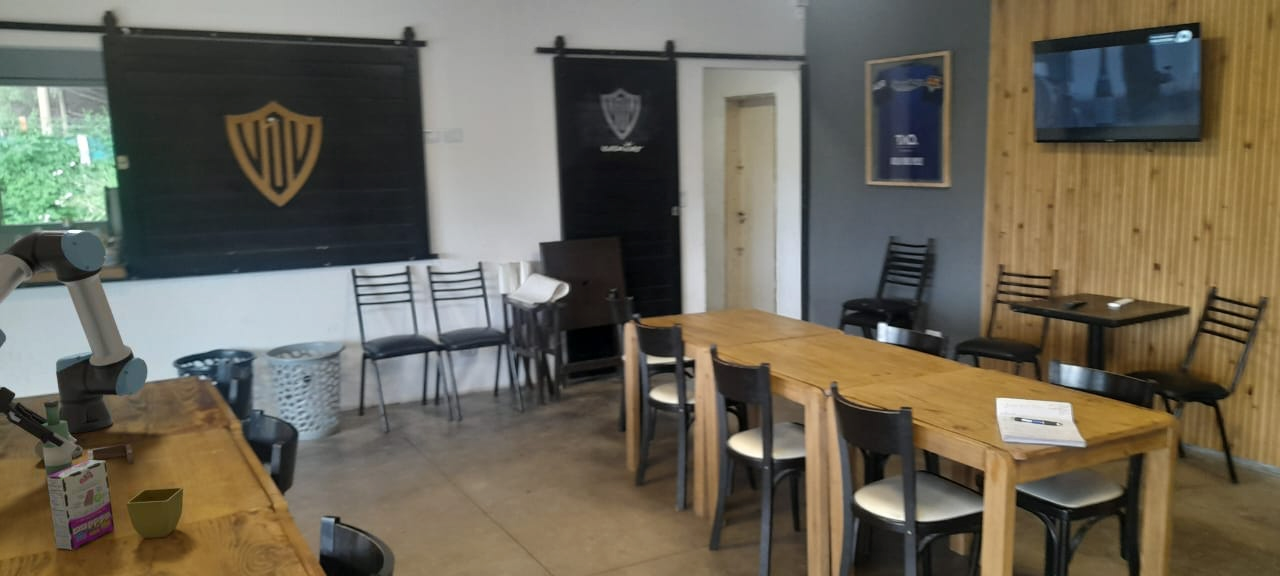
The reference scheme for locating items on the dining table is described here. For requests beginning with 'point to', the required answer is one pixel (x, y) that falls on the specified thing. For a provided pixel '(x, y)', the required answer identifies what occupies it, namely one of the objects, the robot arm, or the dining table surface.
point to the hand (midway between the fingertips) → (73, 447)
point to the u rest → (111, 452)
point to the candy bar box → (80, 504)
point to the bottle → (52, 455)
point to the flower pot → (156, 511)
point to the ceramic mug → (41, 455)
